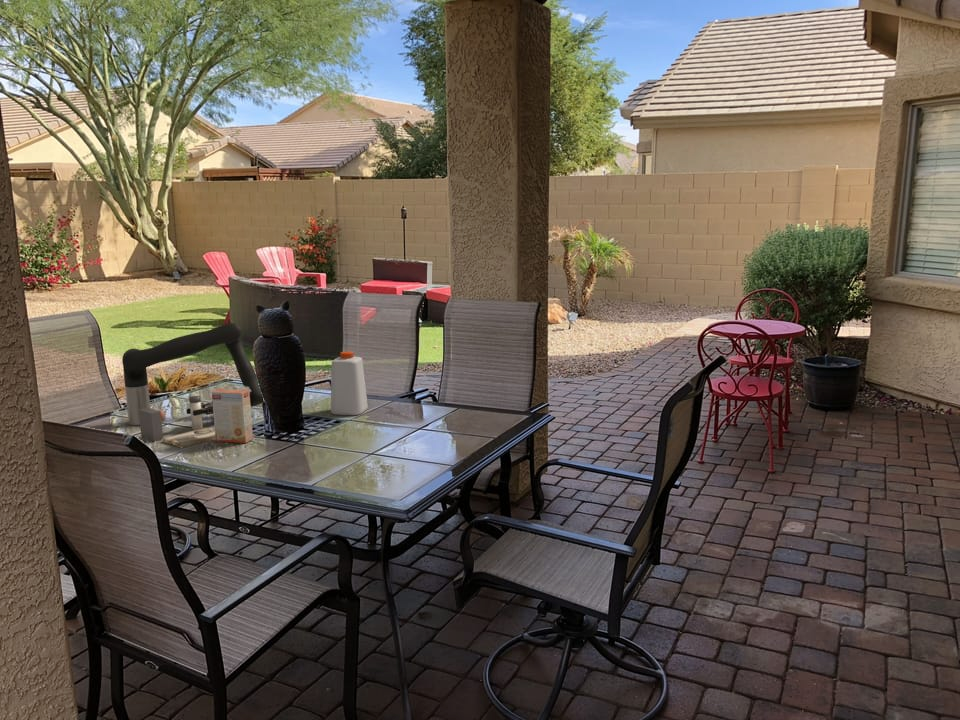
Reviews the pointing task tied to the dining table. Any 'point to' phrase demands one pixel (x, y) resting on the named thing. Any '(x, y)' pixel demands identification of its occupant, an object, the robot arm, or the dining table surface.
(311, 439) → the dining table surface
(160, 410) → the button
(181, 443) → the beige board with ring
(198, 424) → the white shaker grey cap
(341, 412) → the plastic bottle
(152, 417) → the button panel
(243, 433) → the cracker box
